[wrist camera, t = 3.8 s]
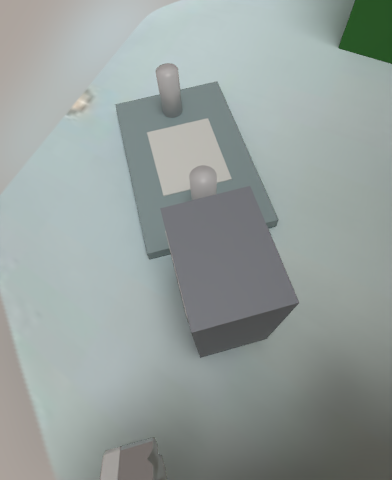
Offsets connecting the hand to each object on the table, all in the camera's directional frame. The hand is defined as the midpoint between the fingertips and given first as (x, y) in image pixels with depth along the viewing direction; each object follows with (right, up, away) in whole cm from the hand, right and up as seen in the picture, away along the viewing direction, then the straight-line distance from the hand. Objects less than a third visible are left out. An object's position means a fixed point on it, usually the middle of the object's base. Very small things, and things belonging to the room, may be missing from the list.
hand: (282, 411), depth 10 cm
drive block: (-1, +1, +12) cm, 12 cm away
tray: (-3, +12, +18) cm, 22 cm away
